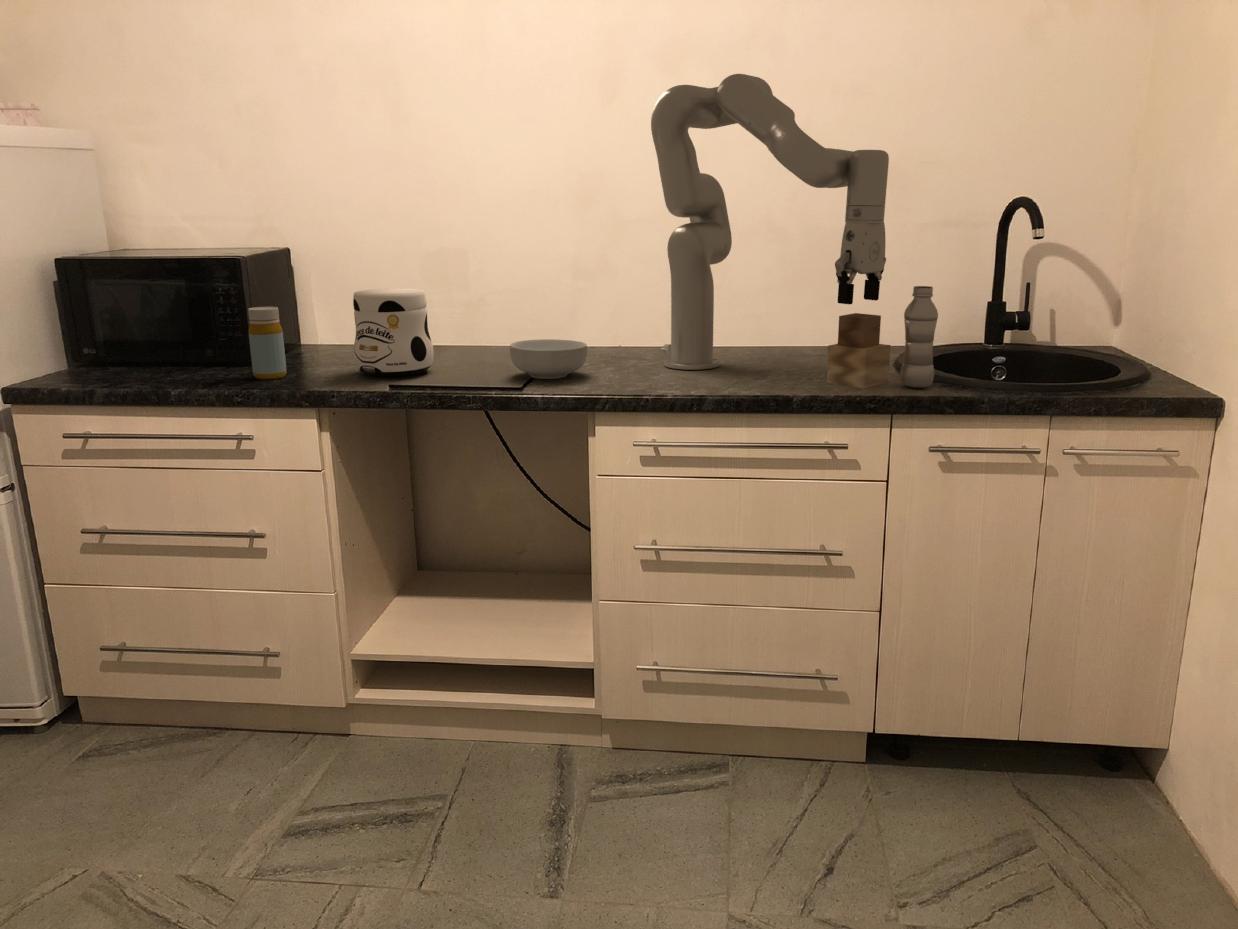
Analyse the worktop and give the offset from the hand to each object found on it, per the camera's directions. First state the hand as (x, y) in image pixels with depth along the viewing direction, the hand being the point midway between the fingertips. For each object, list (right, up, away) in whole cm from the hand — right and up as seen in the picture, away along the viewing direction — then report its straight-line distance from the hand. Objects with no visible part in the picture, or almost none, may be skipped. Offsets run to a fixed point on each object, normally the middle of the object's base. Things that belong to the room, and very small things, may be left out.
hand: (858, 301), depth 201 cm
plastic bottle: (+11, -18, -2) cm, 21 cm away
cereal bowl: (-64, -14, +15) cm, 67 cm away
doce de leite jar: (-98, -13, +19) cm, 101 cm away
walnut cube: (+1, -9, +2) cm, 9 cm away
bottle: (-125, -14, +17) cm, 127 cm away
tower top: (+1, -12, +3) cm, 13 cm away
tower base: (+1, -16, +4) cm, 17 cm away
